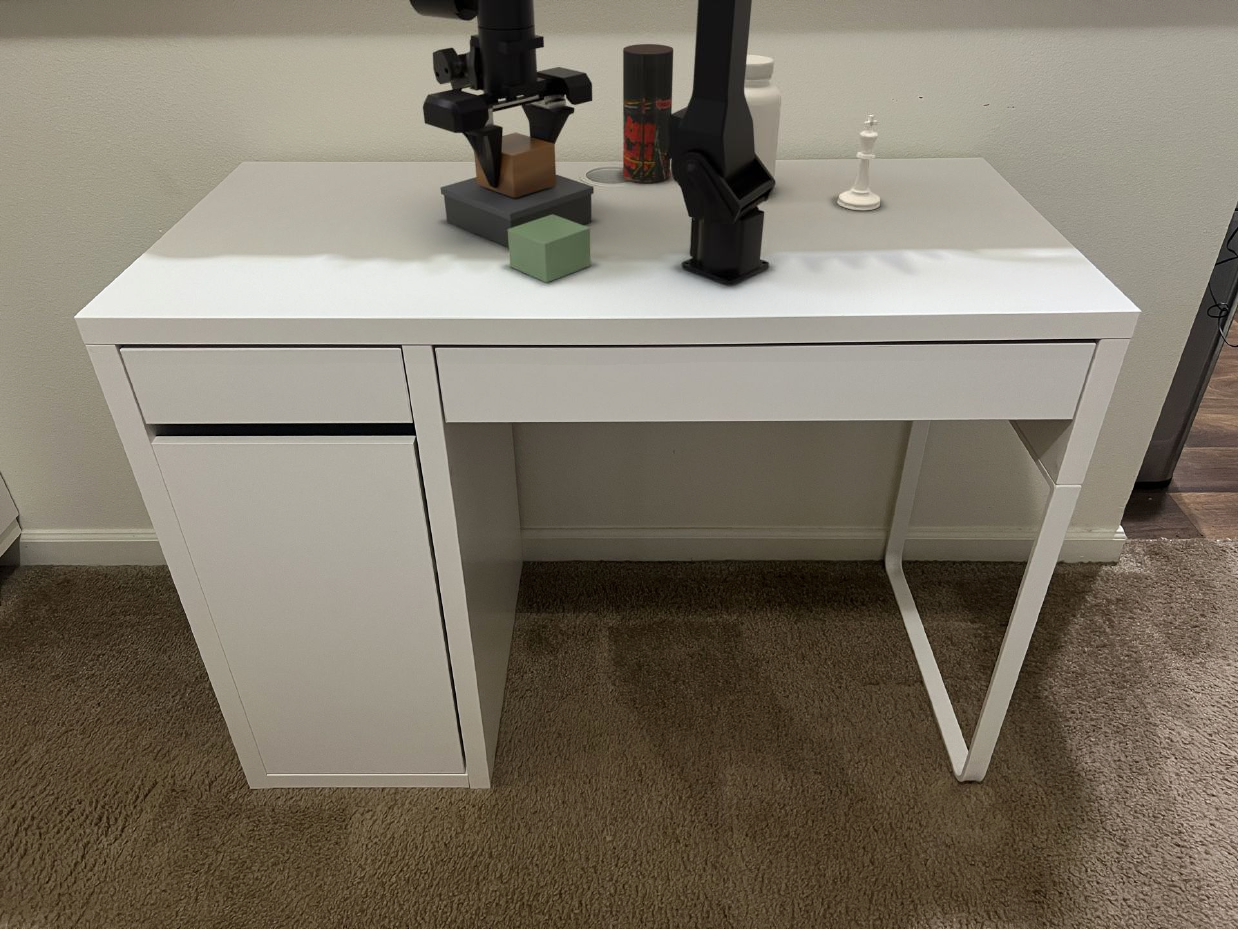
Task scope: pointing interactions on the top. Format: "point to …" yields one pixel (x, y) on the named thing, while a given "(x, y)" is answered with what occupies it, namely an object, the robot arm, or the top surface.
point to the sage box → (549, 247)
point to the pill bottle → (763, 108)
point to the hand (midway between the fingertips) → (516, 180)
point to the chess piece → (863, 174)
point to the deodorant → (646, 112)
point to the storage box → (513, 207)
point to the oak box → (522, 166)
